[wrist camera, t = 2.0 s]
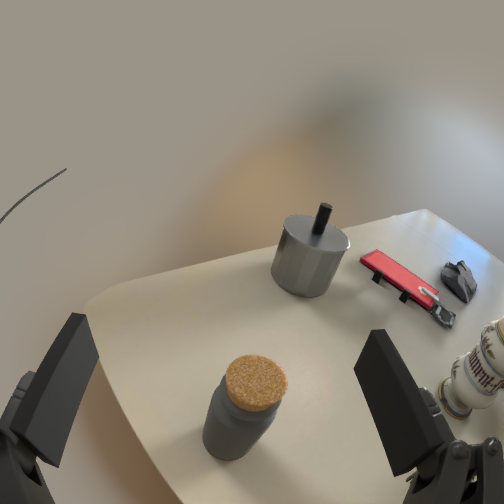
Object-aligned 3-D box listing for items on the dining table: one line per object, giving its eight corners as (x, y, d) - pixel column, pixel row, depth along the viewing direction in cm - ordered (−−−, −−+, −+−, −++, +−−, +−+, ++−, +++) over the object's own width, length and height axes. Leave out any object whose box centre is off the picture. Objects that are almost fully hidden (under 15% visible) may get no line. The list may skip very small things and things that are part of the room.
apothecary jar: (424, 383, 39) (488, 309, 29) (455, 367, 43) (509, 302, 33) (453, 434, 29) (531, 367, 20) (482, 409, 33) (544, 347, 24)
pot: (259, 264, 59) (272, 220, 53) (302, 255, 66) (316, 216, 60) (296, 304, 51) (316, 257, 45) (338, 288, 58) (358, 247, 52)
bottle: (261, 442, 28) (309, 383, 20) (225, 469, 24) (256, 427, 16) (229, 409, 31) (257, 337, 23) (191, 433, 27) (201, 370, 19)
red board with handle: (447, 335, 50) (456, 310, 60) (454, 326, 49) (461, 302, 59) (352, 265, 67) (375, 253, 77) (356, 256, 66) (379, 245, 76)
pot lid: (268, 221, 54) (277, 190, 50) (315, 217, 61) (325, 190, 57) (315, 262, 45) (329, 226, 42) (359, 250, 53) (373, 221, 49)
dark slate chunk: (431, 277, 73) (438, 264, 70) (447, 263, 85) (453, 252, 83) (466, 306, 63) (475, 294, 61) (477, 286, 76) (483, 276, 73)
